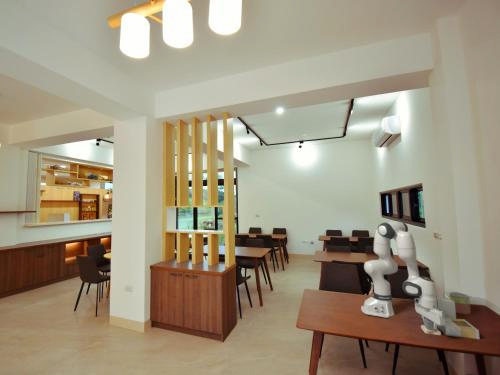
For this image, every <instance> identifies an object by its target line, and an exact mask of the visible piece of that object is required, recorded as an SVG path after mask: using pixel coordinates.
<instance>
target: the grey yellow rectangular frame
mask: <svg viewBox="0 0 500 375" xmlns="http://www.w3.org/2000/svg"><path fill="white" fill-rule="evenodd" d="M437 329H438V330H439V331H440V332H442V333H443V334H444V335H445V336H446V337H447V336H448V337H457V338H465V339H466V338H467V339H477V340H480V332H479V331H480V330H479V329H478V328H477V327H475V326H474V325H473V324H471V323H470V322H469V321H467V320H466V319H464V318H456V319H454V318H445V325H444V326H439V325H438V326H437Z"/></svg>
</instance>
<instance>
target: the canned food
mask: <svg viewBox="0 0 500 375" xmlns="http://www.w3.org/2000/svg"><path fill="white" fill-rule="evenodd" d="M449 299H451V300H452V301H454V302H455V312H456V313H457V314H461V315H462V314H463V315H470V314H471V303H470V302H471V300H470V296H469V295H468V294H465V293H462V292H453V291H451V292H449Z"/></svg>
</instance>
